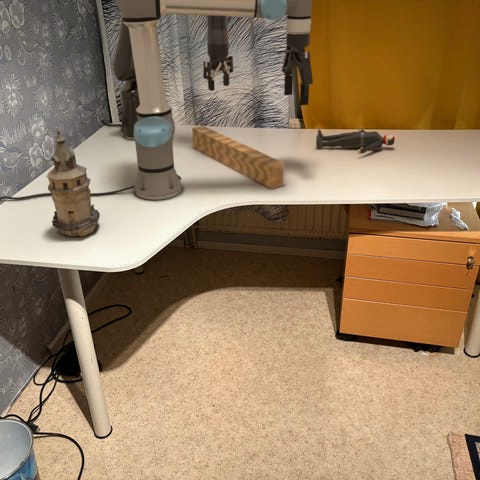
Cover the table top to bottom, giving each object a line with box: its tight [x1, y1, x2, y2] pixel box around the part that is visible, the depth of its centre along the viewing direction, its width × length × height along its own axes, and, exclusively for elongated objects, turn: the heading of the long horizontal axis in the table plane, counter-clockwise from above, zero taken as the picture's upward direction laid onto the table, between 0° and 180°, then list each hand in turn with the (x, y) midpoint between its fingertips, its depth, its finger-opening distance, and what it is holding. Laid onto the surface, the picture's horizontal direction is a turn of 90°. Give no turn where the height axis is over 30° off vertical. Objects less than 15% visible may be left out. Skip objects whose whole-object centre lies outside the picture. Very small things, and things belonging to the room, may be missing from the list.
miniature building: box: [46, 129, 101, 237], centre depth 148 cm, size 13×14×30 cm
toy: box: [315, 128, 396, 155], centre depth 211 cm, size 26×6×30 cm
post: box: [191, 125, 284, 190], centre depth 196 cm, size 51×5×8 cm, turn 35°
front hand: (295, 99), depth 180 cm, fingers open, 13 cm apart
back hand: (219, 88), depth 196 cm, fingers open, 8 cm apart
